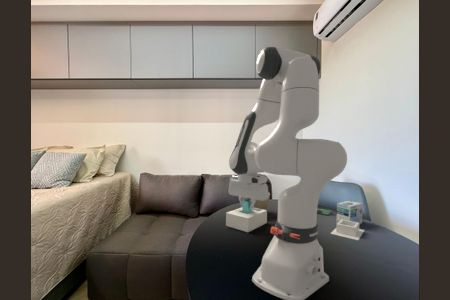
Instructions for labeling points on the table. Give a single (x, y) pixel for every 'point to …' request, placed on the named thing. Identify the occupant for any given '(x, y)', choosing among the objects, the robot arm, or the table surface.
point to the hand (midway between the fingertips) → (247, 207)
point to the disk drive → (324, 212)
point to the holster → (348, 229)
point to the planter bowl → (261, 203)
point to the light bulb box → (349, 211)
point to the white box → (246, 219)
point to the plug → (246, 206)
